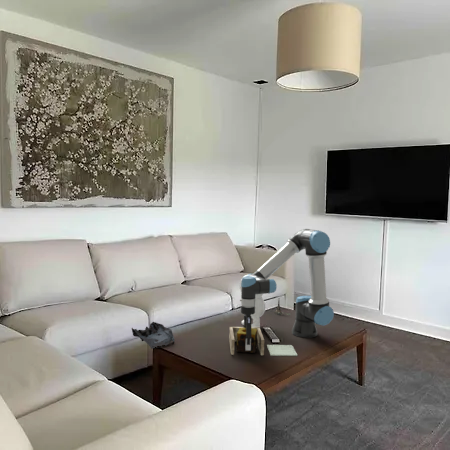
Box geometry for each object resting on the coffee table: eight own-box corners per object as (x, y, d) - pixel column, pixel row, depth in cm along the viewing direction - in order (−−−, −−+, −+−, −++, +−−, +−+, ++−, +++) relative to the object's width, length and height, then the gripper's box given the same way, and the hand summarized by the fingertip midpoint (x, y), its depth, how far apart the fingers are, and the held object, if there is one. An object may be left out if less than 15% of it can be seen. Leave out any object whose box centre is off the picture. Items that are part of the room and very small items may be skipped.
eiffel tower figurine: (291, 315, 297) (292, 296, 296) (285, 318, 289) (286, 299, 288) (272, 311, 306) (273, 292, 305) (265, 314, 297) (266, 295, 296)
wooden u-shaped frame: (258, 340, 242) (259, 327, 241) (263, 355, 221) (264, 340, 220) (229, 340, 241) (229, 326, 240) (231, 354, 220) (231, 339, 219)
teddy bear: (250, 333, 255) (252, 275, 252) (232, 325, 269) (234, 270, 266) (273, 327, 266) (275, 272, 263) (255, 320, 280) (256, 268, 277)
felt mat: (292, 346, 235) (292, 345, 235) (297, 356, 221) (297, 354, 221) (266, 345, 234) (266, 344, 234) (270, 355, 220) (270, 354, 220)
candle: (255, 353, 221) (255, 334, 220) (236, 351, 223) (236, 333, 222) (257, 346, 231) (257, 328, 230) (239, 344, 233) (239, 327, 232)
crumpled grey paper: (147, 351, 221) (147, 334, 220) (130, 340, 236) (130, 324, 236) (176, 345, 232) (177, 328, 231) (158, 334, 248) (158, 319, 247)
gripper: (239, 300, 236) (238, 338, 238) (242, 312, 213) (241, 354, 215) (252, 300, 237) (251, 338, 239) (257, 312, 213) (256, 354, 215)
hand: (247, 346), depth 227 cm, fingers closed on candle, 11 cm apart
